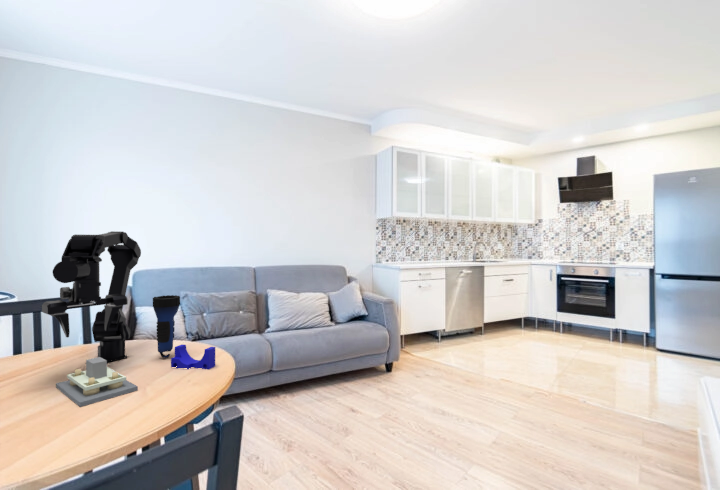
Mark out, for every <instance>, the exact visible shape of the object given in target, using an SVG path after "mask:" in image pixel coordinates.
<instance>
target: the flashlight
mask: <svg viewBox="0 0 720 490" xmlns="http://www.w3.org/2000/svg"><path fill="white" fill-rule="evenodd" d="M180 305H181V296H180V295H174V294H172V295H170V294H169V295H159V296H154V297H152V307H153V311H154V314H155V316H156V320H157V321H156V342H157V352H158V353H159V355H160V356H161V357H162V358H163V359H167V358H168V359H169V357H170V356H171V354H170V353H167V352H172V350H173V348H174V339H175V325H176V324H175V316H176V314H177V313H178V311H179V308H180ZM164 353H167V354H166V355H165V354H164Z"/></svg>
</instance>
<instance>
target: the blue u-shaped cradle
mask: <svg viewBox="0 0 720 490" xmlns="http://www.w3.org/2000/svg"><path fill="white" fill-rule="evenodd" d="M176 366H177V367H176ZM171 367H176V368H175V369H178V368H187V369H186V370H190V369H192V368H191V367H195V368H194V369H198V368H202V369H201V370H211V369H213V368H215V367H216V346H209V347H207V348H205V349H204V353H203V356H202V358H201V359H199V360H198V359H195V358H193V357H191V355H190V354H189V352H188V350H187V345H186V344H179V345H177V346H175V347H174V356H173V357H171V358H170V368H171ZM189 368H190V369H189Z"/></svg>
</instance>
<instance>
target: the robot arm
mask: <svg viewBox="0 0 720 490" xmlns="http://www.w3.org/2000/svg"><path fill="white" fill-rule="evenodd" d="M106 249H107V250H106ZM105 251H107V252H108V254H109V255H110V260H111V264H112V265H113V271H112V275H111V280H110V284H109V289H108V294H106V295H105V298H104V297H103V298H102V296H100V295H101V294H100V292H101V291H100V290H101V289H100V287H101V286H102V282H100V263H101V262H102V261H103V260H102V259H103V258H101V257H100V256H101V255H102V253H104V252H105ZM141 254H142V249H141V248H140V246H139V244H138V242H137V241H136V240H134V239H133V238H131V237H130V236H129V235H128V233H127V232H124V231H115V230H114V231H108V232H106V233H102V234H73V235H71V237H70V239H69V240H68V242H67V244H66V246H65V248H64V251H63V253H62V255H61V261H59V262H57V263H56V264H55V265H54V267H53V269H52V276H53V278H54V279H55V280H56V281H57V282H59V283H60V284H61V283H63V284H67V283H72V288H70V286H64V287H60V288H59V297H60V299H57V300H48V301H45V302H43V303H42V305H41V312H42V313H43V314H46V315H48V316H51V317H54V318H55V319H56V320H57V321H58V323H59V325H60V327H61V329H62V331H63V334H64V336H65V338H69V337H70V318H69V315H70V314H69V313H68V312H66V311H67V310H69V309H70V310H71V309H79V308H86V307H95V306H103V305H104V306H103V309H102V310H101V311H97V312H96V314H95V318H94V321H93V323H92V324H93V325H92V327H91V332H92V336H93V340H94V342H95V343H97V342H99V345H97V357H101V358H103V359H105V360H107V363H110V362H113V361H119V360H123V359H127V358H128V356H127V355H126V340H129V339H130V337H131V329H130V327H129V325H128V324H127V317H126V316H125V314H124V312H123V308H124V306H126V305H128V303H129V302H128V301H129V299H128V296H127V294H126V293H127V288H128V284H129V279H130V275H131V271H132V269H134V267H136V265H138V262H139V260H140V257H141ZM65 300H68V301H65Z"/></svg>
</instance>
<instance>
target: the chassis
mask: <svg viewBox="0 0 720 490" xmlns="http://www.w3.org/2000/svg"><path fill="white" fill-rule="evenodd" d="M81 371H82V369H81V368H77V369H75V370H74V373H75V376H80V375H81ZM118 373H119V372H118V371H116V372H113V373H112V380H113V379H117V378H118ZM93 384H95V378H94V377H92V378H89V382H88V386H89V385H93ZM55 388H56V389H58V390H59V391H60V392H61V393H63V395H64V396H66V397H67V398H69V399H70V400H71V401H72V402H74V404H76V405H77V406H79V408H82V407H84V406H89V405H92V404H94V403H95V404H96V403H99V402H102V401H105V400H108V399H113V398H115V397H116V398H117V397H120V396H124V395H125V394H126V395H127V394H130V393H134V392H137V391H138V390H139V389H138V388H139V386H138V385H136V384H135V383H132V382H130V381H128V379H126V380H125V381H121V382H117V383H113V384H110V385H106V386H102V387H98V388H94V389H91V390H87V391H85V390H84V389H82V388H81V387H79V386H78V385H77V384H75V383H74V382H72V381H71V380H69V379H68V380H65V381H60V382H56V383H55Z"/></svg>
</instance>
